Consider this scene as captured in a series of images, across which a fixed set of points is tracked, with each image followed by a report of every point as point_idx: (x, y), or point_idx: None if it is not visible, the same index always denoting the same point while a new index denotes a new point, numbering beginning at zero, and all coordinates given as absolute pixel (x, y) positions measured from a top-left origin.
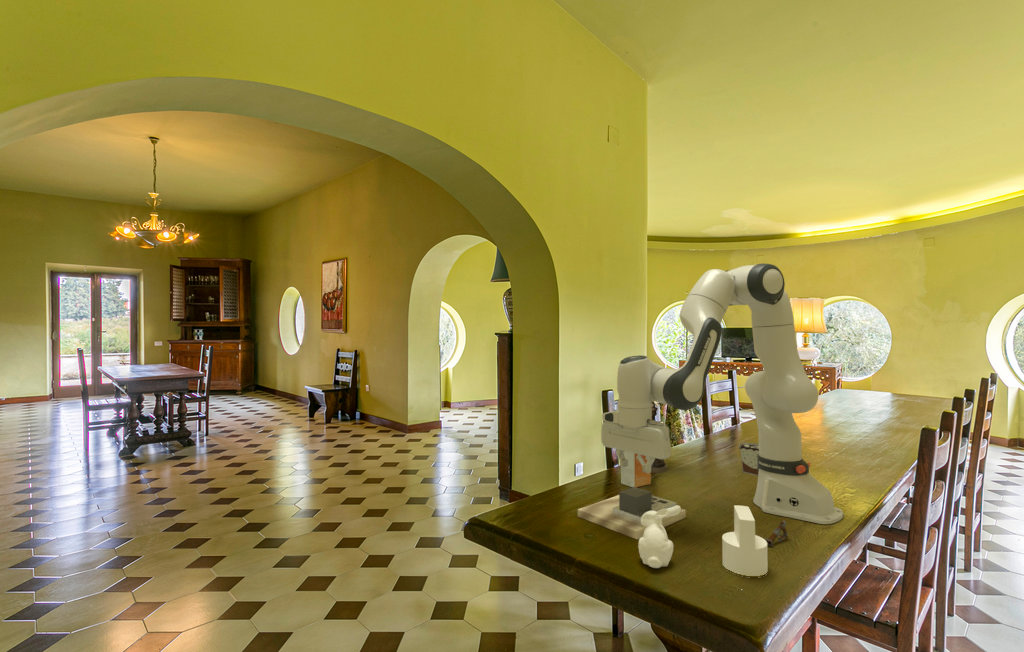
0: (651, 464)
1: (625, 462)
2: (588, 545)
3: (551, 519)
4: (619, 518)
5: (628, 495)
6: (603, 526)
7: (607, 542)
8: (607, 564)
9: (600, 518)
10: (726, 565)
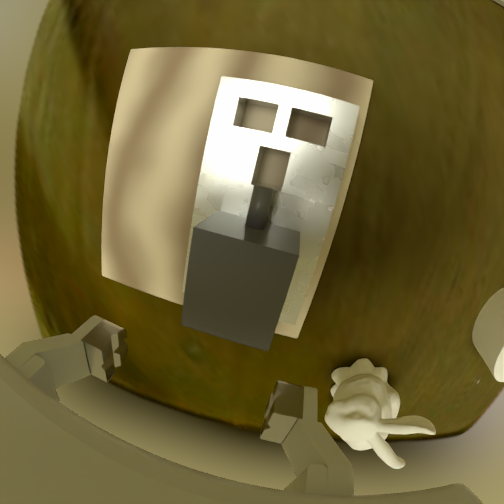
0: (323, 435)
1: (109, 355)
2: (221, 386)
3: (93, 309)
4: None
5: (227, 337)
6: None
7: (244, 364)
8: None
9: (172, 300)
10: (477, 350)
